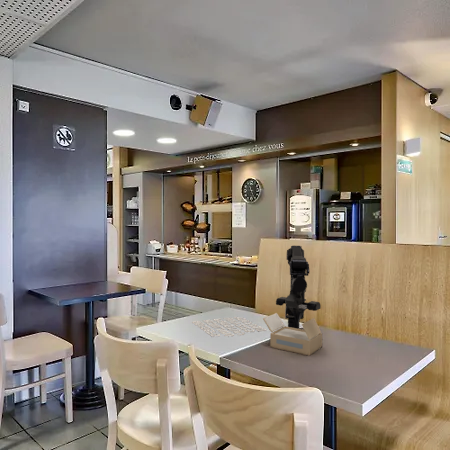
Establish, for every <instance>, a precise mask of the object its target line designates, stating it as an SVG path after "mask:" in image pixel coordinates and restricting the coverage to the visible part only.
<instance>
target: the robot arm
mask: <svg viewBox="0 0 450 450" xmlns="http://www.w3.org/2000/svg"><path fill="white" fill-rule="evenodd" d="M286 261H287V264H288V265H289V275H290V283H289V284H290V286H289V288H290V289H289V295H287V296H281V297H280V296H279V297H277V298H276V301H275V305H276V306H284V305H285V309H284V311H285V313H284V314H285V319H287V327H291V328H297V329H302V330H303V327H302V328H301V327H300V321H301V320H303V319H304V317H305V311H306V310H308V311H313V312H314V311H315V312H316V311H319V310H320V309H321V306H322V305H321V303H320V302H319V301H316V300H311V301H309V302H307V300H306V298H305V295H306V293H307V288H308V283H307V281H306V277H308V276H309V274H310V264H309V261H307V258H306V257H305V250H304V249H303V248H302V245H291V246H290V248H288V249H287V250H286Z"/></svg>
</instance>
